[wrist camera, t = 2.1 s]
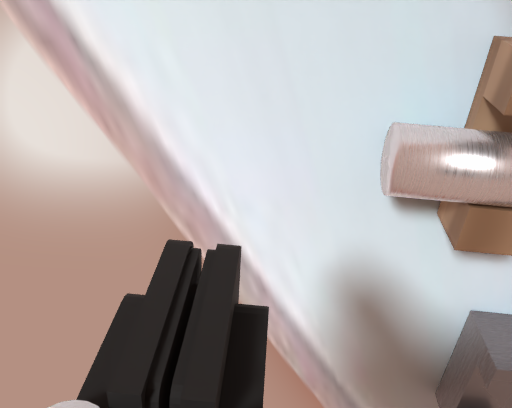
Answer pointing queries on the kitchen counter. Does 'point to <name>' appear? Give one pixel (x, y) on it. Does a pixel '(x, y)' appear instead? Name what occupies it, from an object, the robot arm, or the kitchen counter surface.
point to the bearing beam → (492, 119)
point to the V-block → (480, 365)
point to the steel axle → (447, 164)
